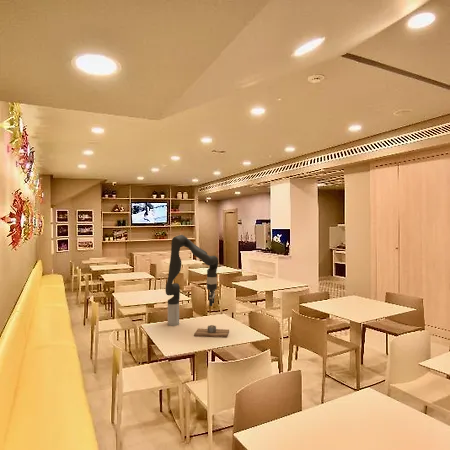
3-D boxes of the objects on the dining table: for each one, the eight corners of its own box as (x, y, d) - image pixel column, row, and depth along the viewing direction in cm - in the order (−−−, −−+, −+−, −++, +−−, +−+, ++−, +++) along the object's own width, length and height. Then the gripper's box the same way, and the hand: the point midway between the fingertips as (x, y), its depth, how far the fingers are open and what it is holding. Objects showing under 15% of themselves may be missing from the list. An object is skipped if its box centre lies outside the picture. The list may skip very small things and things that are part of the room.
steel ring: (208, 330, 270) (208, 325, 270) (216, 330, 269) (216, 325, 269) (207, 332, 264) (207, 327, 264) (215, 333, 263) (215, 327, 263)
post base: (197, 330, 275) (197, 323, 275) (229, 331, 272) (229, 324, 272) (194, 336, 261) (194, 328, 261) (226, 337, 258) (226, 329, 258)
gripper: (208, 281, 274) (208, 302, 274) (205, 284, 259) (205, 306, 260) (218, 281, 273) (218, 302, 273) (215, 284, 259) (215, 307, 259)
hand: (211, 304), depth 266 cm, fingers open, 8 cm apart
